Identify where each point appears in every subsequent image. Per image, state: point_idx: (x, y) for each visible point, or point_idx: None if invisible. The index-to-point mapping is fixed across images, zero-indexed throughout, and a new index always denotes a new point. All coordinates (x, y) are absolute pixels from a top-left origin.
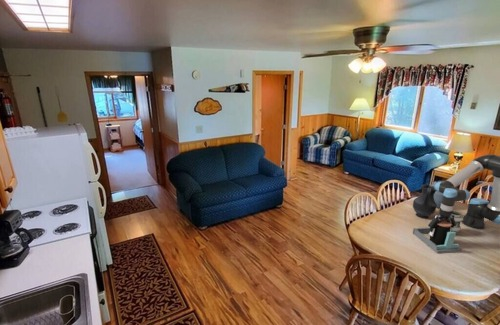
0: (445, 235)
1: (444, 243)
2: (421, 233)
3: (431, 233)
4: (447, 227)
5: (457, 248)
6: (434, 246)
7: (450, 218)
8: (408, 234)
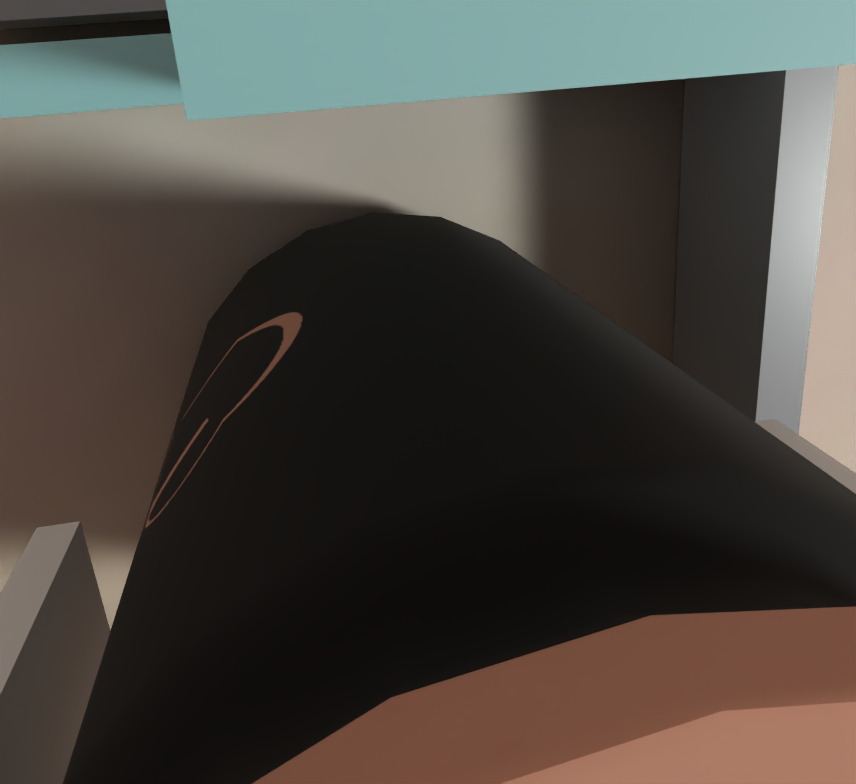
0: (474, 308)
1: (362, 232)
2: None
3: None
4: (639, 610)
5: (19, 13)
6: None
7: None
8: None
